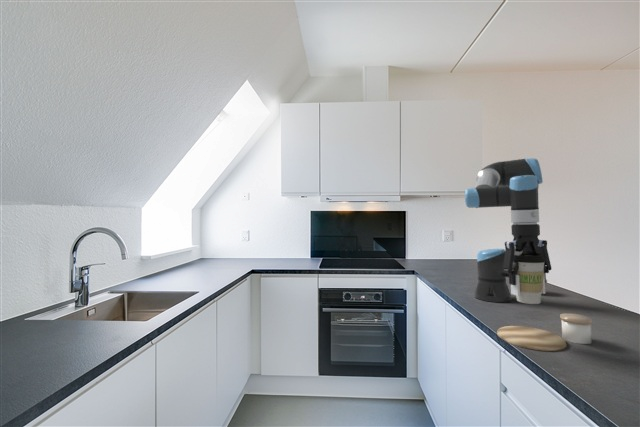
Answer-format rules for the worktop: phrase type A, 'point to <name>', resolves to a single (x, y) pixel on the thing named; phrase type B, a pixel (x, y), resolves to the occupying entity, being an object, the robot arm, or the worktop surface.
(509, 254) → the robot arm
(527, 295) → the coffee cup
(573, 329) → the sugar jar
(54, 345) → the worktop surface
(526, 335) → the round wooden board
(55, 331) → the worktop surface
